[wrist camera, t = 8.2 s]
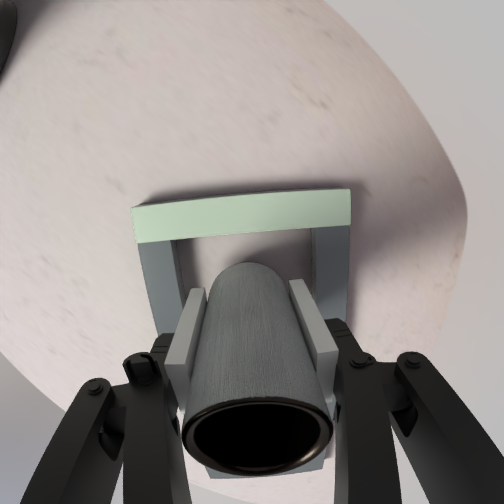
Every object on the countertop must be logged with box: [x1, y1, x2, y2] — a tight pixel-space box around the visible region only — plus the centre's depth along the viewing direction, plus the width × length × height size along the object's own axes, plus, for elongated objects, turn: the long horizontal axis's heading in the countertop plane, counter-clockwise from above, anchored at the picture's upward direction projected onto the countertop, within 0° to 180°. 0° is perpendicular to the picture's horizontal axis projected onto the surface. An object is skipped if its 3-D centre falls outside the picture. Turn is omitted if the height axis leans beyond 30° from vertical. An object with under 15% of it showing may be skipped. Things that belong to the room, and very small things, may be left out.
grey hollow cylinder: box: [181, 262, 333, 476], centre depth 12 cm, size 4×4×10 cm
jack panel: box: [130, 187, 351, 479], centre depth 19 cm, size 28×12×1 cm, turn 4°
